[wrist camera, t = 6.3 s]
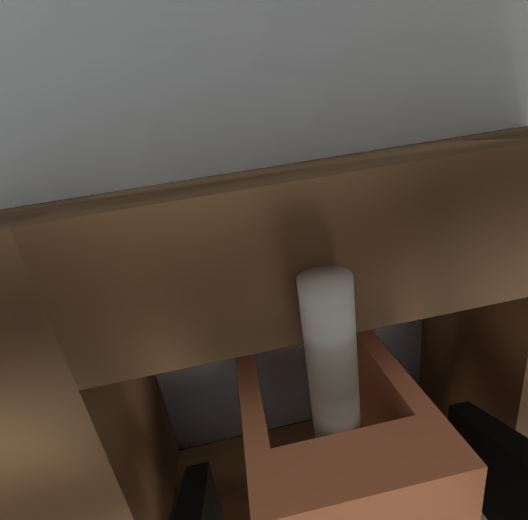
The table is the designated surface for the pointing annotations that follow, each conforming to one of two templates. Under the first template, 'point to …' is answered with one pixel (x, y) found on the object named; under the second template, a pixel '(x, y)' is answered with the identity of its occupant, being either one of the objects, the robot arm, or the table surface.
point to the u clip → (364, 455)
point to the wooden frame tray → (250, 310)
